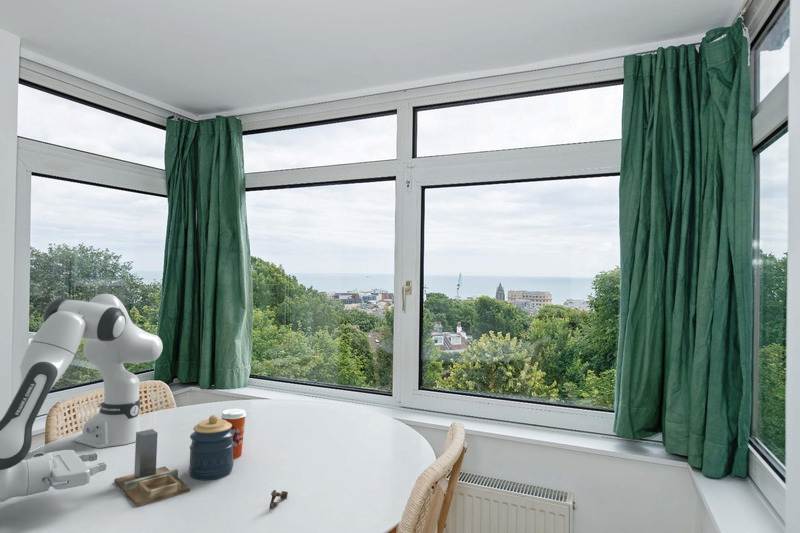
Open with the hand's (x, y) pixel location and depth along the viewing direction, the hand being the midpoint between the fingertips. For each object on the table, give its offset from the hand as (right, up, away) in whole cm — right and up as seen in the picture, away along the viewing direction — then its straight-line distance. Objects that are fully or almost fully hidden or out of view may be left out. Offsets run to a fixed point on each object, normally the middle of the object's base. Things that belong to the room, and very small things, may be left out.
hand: (101, 461), depth 133 cm
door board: (+12, -9, +4) cm, 16 cm away
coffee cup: (+27, -10, +29) cm, 41 cm away
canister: (+25, -10, +15) cm, 31 cm away
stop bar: (+8, -8, +8) cm, 14 cm away
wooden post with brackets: (+51, -10, -4) cm, 52 cm away
